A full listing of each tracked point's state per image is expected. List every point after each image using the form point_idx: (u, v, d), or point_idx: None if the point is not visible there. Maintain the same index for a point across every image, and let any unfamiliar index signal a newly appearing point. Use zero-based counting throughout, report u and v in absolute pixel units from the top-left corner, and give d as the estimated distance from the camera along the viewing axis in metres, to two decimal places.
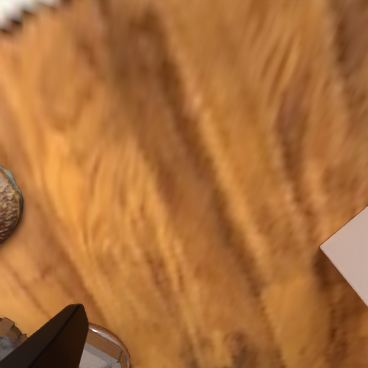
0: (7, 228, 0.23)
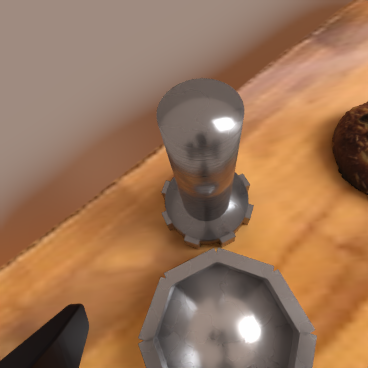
0: None
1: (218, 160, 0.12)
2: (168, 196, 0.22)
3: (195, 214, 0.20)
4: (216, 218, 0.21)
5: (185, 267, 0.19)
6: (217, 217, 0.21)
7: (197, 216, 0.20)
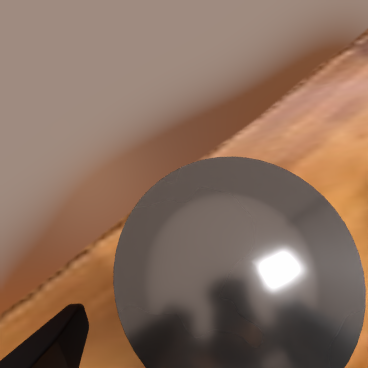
0: None
1: None
2: None
3: None
4: None
5: None
6: None
7: None
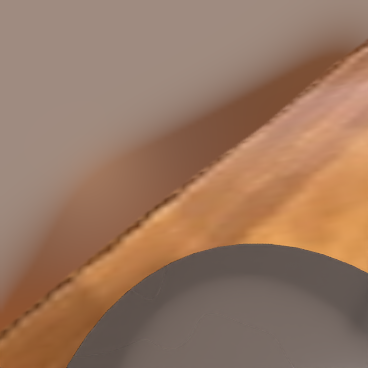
0: None
1: None
2: None
3: None
4: None
5: None
6: None
7: None
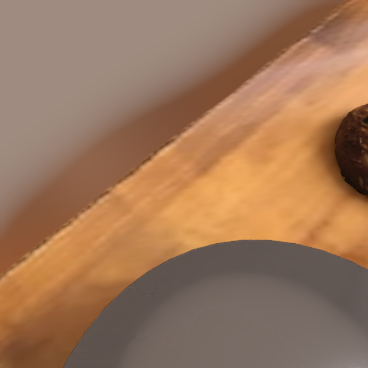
0: None
1: None
2: None
3: None
4: None
5: None
6: None
7: None
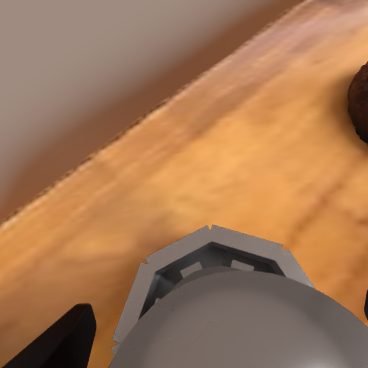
0: None
1: None
2: None
3: None
4: None
5: (172, 249, 0.15)
6: None
7: None
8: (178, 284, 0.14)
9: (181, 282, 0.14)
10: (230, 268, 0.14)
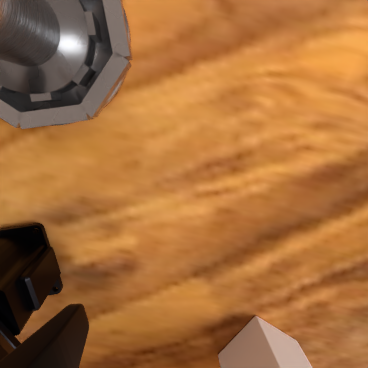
0: None
1: None
2: None
3: None
4: (31, 66, 0.15)
5: None
6: (31, 65, 0.15)
7: None
8: None
9: None
10: None
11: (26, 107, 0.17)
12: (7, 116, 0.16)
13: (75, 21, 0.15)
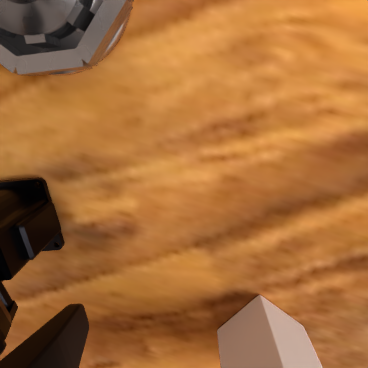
0: None
1: None
2: None
3: None
4: (24, 3, 0.14)
5: None
6: (23, 2, 0.14)
7: None
8: None
9: None
10: None
11: (26, 54, 0.17)
12: (4, 60, 0.16)
13: None
